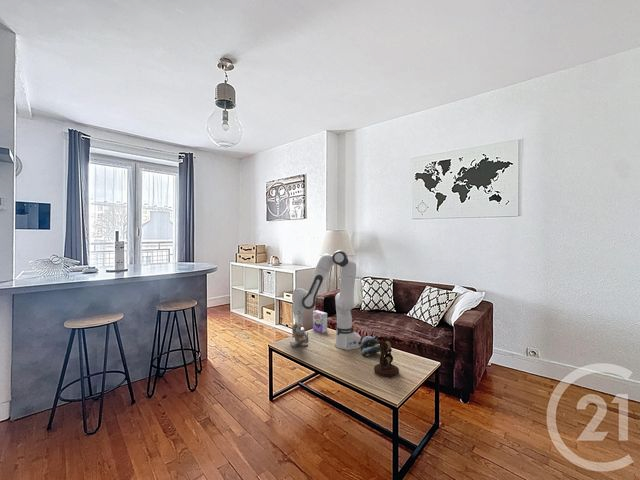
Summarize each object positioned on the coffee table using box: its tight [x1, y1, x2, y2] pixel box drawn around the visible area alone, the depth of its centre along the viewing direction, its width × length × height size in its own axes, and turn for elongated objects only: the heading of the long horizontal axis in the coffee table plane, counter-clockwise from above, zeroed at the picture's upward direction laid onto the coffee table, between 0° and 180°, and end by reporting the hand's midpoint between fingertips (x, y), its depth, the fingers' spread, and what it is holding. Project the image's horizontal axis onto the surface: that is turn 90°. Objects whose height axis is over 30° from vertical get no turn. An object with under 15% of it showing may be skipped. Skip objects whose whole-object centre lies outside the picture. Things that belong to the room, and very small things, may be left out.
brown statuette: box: [373, 337, 400, 379], centre depth 179 cm, size 15×15×20 cm
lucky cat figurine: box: [358, 334, 381, 358], centre depth 208 cm, size 15×12×14 cm
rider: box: [296, 326, 305, 335], centre depth 220 cm, size 5×5×5 cm
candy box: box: [312, 309, 328, 334], centre depth 258 cm, size 14×6×16 cm, turn 37°
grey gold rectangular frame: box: [289, 323, 310, 349], centre depth 221 cm, size 12×25×14 cm, turn 13°
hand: (298, 327), depth 228 cm, fingers closed
